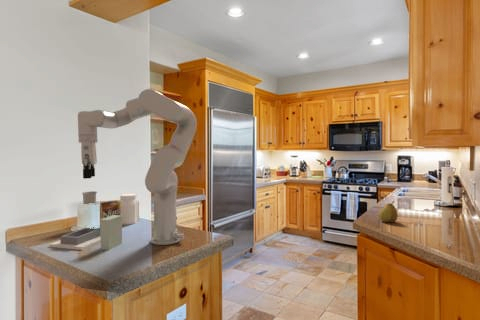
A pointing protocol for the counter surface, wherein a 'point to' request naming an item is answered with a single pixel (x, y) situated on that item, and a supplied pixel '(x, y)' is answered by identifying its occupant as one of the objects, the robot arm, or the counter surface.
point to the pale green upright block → (111, 231)
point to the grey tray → (79, 239)
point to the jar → (129, 209)
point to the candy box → (110, 208)
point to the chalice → (89, 197)
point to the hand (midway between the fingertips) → (89, 177)
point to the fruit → (388, 213)
